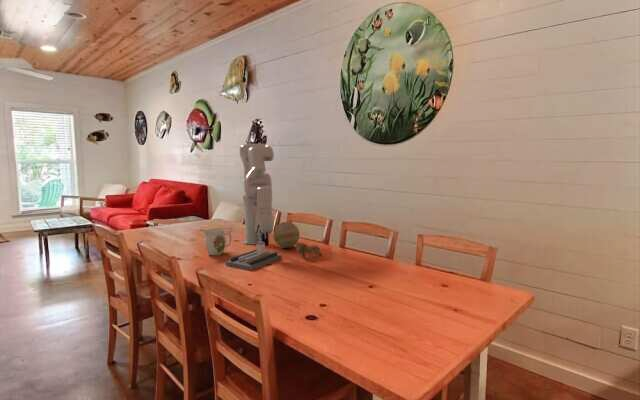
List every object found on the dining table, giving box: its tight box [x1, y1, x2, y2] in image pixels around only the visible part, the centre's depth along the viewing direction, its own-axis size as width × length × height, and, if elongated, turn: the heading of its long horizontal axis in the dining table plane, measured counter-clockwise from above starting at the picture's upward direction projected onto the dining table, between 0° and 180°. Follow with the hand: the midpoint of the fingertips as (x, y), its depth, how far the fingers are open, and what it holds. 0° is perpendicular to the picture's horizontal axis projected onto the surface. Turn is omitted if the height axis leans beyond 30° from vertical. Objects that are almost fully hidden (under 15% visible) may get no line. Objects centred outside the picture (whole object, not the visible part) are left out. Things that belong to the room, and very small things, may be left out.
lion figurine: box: [295, 241, 323, 260], centre depth 200 cm, size 15×5×9 cm, turn 110°
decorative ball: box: [273, 221, 300, 249], centre depth 221 cm, size 15×15×15 cm
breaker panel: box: [225, 248, 283, 271], centre depth 193 cm, size 24×16×4 cm, turn 149°
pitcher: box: [201, 227, 233, 256], centre depth 208 cm, size 11×18×14 cm, turn 136°
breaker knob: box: [255, 241, 266, 255], centre depth 197 cm, size 3×3×7 cm
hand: (265, 245), depth 200 cm, fingers closed
